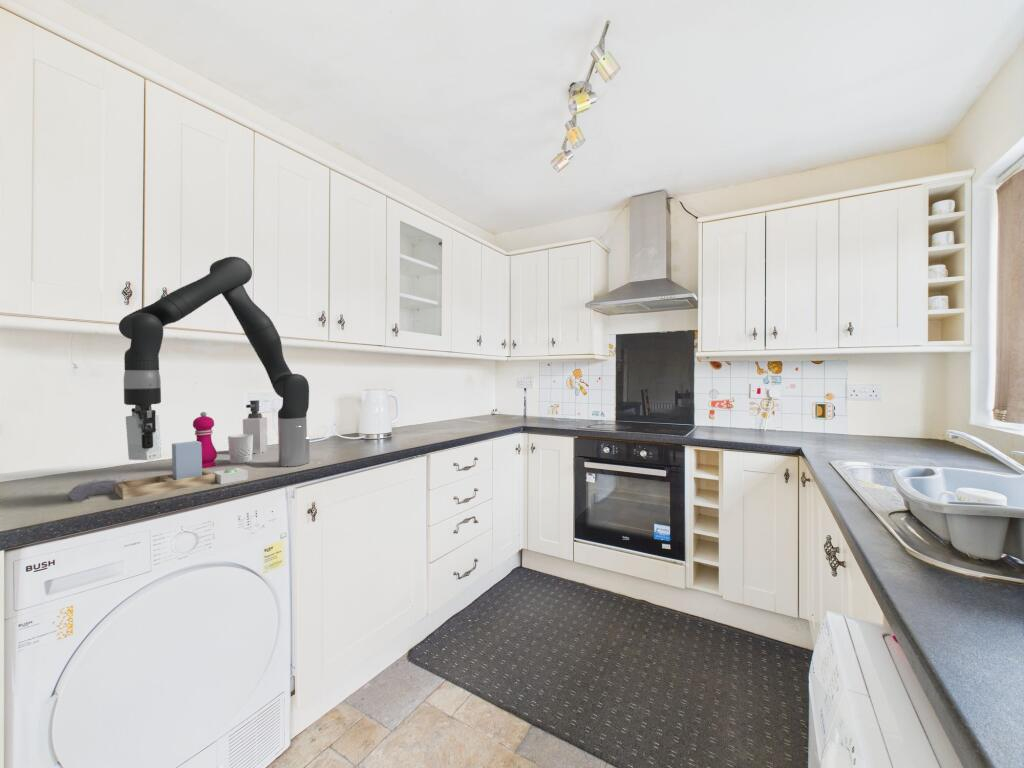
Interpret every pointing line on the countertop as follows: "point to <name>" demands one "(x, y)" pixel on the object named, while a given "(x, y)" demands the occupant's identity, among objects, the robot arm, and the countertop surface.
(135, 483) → the pallet
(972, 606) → the countertop surface
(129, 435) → the skincare box
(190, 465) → the seated block
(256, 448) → the soap dispenser
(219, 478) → the button box
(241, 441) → the white cup
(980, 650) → the countertop surface
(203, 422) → the pepper mill
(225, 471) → the button
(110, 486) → the stone block
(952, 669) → the countertop surface
